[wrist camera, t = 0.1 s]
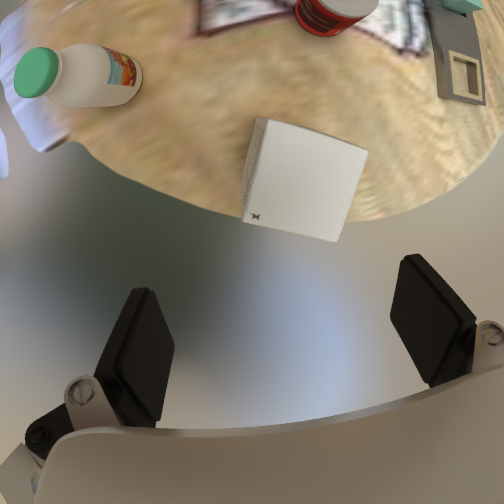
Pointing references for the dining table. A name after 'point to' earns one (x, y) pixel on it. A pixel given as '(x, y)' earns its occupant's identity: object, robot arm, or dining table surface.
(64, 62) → the milk bottle
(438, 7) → the grey peg hole board
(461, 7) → the peg
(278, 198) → the supplement box
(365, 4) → the canned food
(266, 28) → the dining table surface
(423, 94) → the dining table surface
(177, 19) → the dining table surface
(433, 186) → the dining table surface
